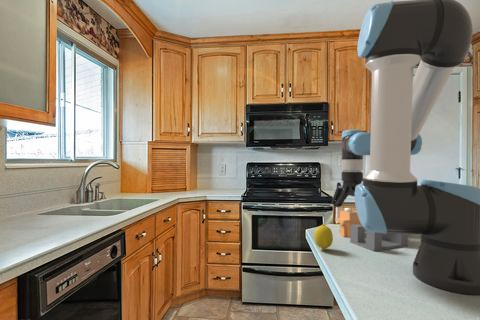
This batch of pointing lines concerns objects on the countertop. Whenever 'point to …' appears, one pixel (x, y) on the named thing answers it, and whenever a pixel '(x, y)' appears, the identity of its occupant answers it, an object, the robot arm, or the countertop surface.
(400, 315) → the countertop surface
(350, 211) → the block
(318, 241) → the lemon
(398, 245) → the grey stand
